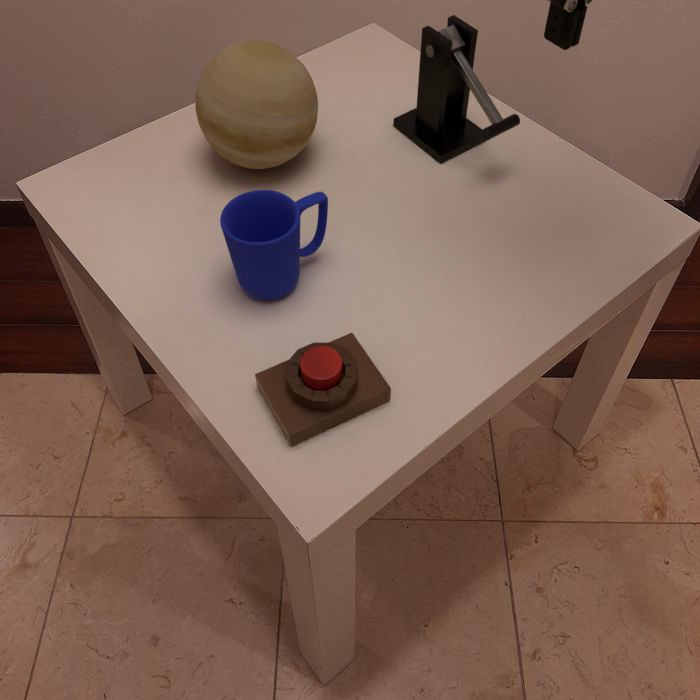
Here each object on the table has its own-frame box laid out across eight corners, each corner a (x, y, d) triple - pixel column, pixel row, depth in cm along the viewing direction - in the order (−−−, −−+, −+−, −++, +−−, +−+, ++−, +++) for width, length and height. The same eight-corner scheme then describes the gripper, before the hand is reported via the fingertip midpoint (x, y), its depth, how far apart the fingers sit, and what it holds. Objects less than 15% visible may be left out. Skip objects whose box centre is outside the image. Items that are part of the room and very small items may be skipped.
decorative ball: (190, 140, 99) (167, 35, 87) (292, 108, 103) (283, 4, 91) (231, 208, 91) (211, 102, 79) (340, 171, 95) (337, 65, 83)
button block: (352, 344, 78) (351, 320, 75) (390, 400, 74) (391, 377, 71) (257, 386, 75) (252, 363, 72) (291, 447, 71) (288, 425, 68)
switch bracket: (486, 140, 99) (504, 36, 87) (440, 164, 96) (451, 59, 84) (438, 104, 104) (448, 1, 92) (393, 125, 101) (397, 21, 89)
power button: (330, 350, 73) (330, 339, 72) (349, 379, 71) (349, 368, 70) (294, 366, 72) (292, 355, 71) (312, 396, 70) (311, 386, 69)
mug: (348, 274, 84) (347, 207, 76) (256, 320, 80) (244, 255, 72) (309, 232, 89) (304, 165, 81) (220, 274, 84) (205, 208, 77)
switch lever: (514, 129, 91) (524, 119, 89) (484, 144, 89) (493, 135, 87) (454, 32, 91) (462, 20, 89) (422, 46, 90) (430, 34, 87)
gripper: (577, -137, 55) (532, 85, 69) (708, -183, 60) (640, 33, 74) (506, -167, 58) (478, 50, 73) (635, -207, 63) (585, 3, 78)
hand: (560, 41), depth 73 cm, fingers closed
